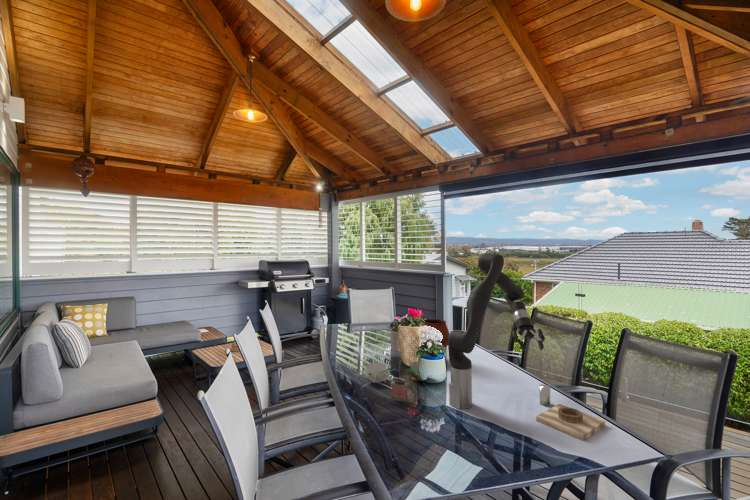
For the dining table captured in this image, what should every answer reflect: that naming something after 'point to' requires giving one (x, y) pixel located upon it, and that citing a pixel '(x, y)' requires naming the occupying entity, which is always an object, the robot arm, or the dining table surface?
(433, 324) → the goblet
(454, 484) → the dining table surface
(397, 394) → the lighter
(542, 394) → the roller
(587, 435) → the wooden board with ring
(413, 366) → the food container
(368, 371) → the grey spiky lump
